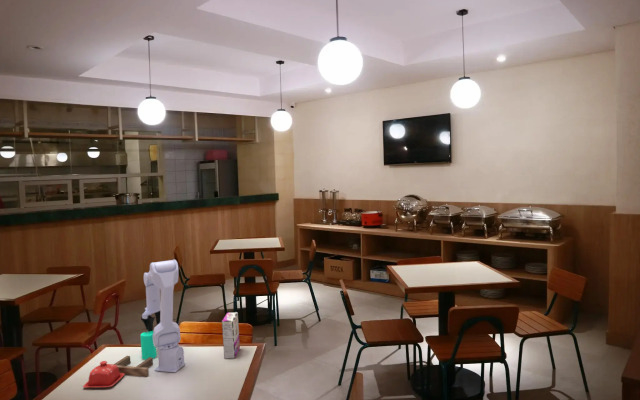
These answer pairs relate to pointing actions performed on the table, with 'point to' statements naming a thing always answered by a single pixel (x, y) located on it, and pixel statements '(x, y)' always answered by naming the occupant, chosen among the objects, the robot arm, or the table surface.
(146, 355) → the candle
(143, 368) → the brown wooden angled piece
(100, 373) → the butter dish
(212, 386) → the table surface
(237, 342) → the candy bar box
